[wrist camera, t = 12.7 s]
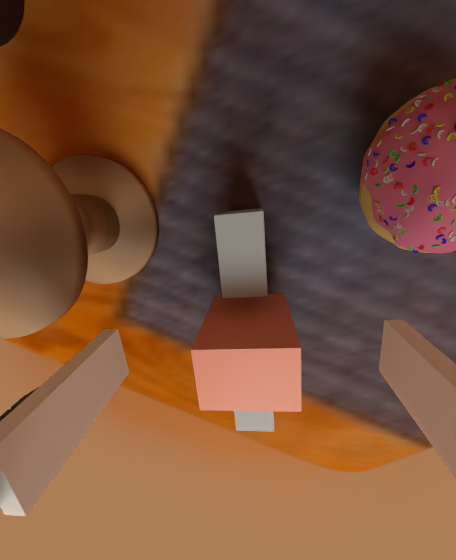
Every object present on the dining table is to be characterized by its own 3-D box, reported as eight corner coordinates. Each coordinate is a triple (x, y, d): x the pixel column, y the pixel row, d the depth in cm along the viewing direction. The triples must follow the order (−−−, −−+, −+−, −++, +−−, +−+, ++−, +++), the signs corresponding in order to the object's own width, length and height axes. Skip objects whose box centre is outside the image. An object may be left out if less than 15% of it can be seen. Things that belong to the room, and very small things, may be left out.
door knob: (28, 164, 20) (-180, 130, 10) (146, 149, 19) (31, 93, 9) (63, 283, 23) (-75, 340, 13) (168, 276, 21) (97, 336, 12)
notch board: (228, 211, 19) (213, 215, 13) (261, 208, 19) (263, 211, 12) (242, 365, 23) (236, 430, 17) (269, 365, 23) (274, 431, 16)
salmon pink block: (214, 296, 18) (190, 349, 12) (284, 293, 18) (301, 348, 11) (219, 338, 19) (200, 410, 13) (285, 337, 19) (301, 411, 12)
